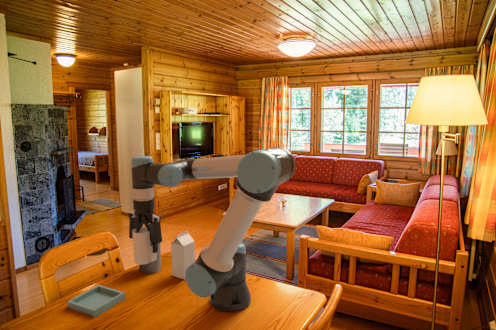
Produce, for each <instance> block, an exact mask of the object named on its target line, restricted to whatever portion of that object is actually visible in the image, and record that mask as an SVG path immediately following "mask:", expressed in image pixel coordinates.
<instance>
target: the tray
mask: <svg viewBox="0 0 496 330" xmlns="http://www.w3.org/2000/svg"><path fill="white" fill-rule="evenodd" d="M125 299H126V293H125V292H124V291H121V290H118V289H115V288H112V287H111V288H110V287H107V286H104V285H101V284H98V285H96V286H94V287H92V288H90V289H88V290H86V291H85V292H83V293H81V294H79V295H77V296H74V297H73V298H71V299H69V300H67V301H66V304H67V309H70V310H73V311H76V312H79V313H81V314H84V315H86V316H90V317H92V318H96V317H98V316H99V315H100V314H103V313H104V312H106V311H107V310H109V309H111V308H112V307H114V306H115V305H117V304H119V303H120V302H122V301H124V300H125Z"/></svg>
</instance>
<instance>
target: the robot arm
mask: <svg viewBox="0 0 496 330" xmlns="http://www.w3.org/2000/svg"><path fill="white" fill-rule="evenodd" d="M130 165H131V166H130V169H131V183H132V184H131V185H132V199H133V200H132V207H133V208H132V209H133V211H131V212H129V213H128V215H127V216H128V218H129V223H128V224H129V225H128V226H129V231H128V232H129V235H128V237H129V239H132V240H133V235H132V231H133V230H134V229H136V233H138V232H139V231H140V229H141V227H146V228H147V230H148V231H150V241H151V244H150V262H153V261H155V260H157V252H158V243H160V244H161V243H162V242H163V237H162V225H161V222H162V221H161V220H162V217H161V215H156V214H155V212H154V210H155V202H156V201H155V200H156V199H155V198H154V197H155V185H156V186H162V187H163V186H164V187H168V188H169V187H172V188H173V187H177V186H179V185H180V184H181V182H183V181H189V180H190V181H191V180H200V179H201V180H204V179H205V180H206V179H224V178H225V179H227V178H237V179H236V182H235V186H236V189H237V191H236V192H235V195H234V196H233V198H232V200H231V203H230V204H229V206H228V208H227V210H226V212H225V214H224V215H223V218H222V220H221V222H220V224H219V226H218V228H217V229H216V232H215V233H214V236H213V237H212V239H211V241H210V243H209V245H206V246H204V247H203V248H202V249H201V250H200V253H199V254H198V257H197V258H196V259H195V262H194V263H192V264H191V265H190V266H189V267H188V268H187V269H186V272H185V282H186V284H187V287H188V288H189V289H190V291H191V292H192V293H193V294H194V295H195V296H197V297H199V298H203V299H204V298H208V297H209V298H210V299H209V300H210V305H211V307H212V308H214V309H215V310H216V311H219V312H225V313H234V312H235V313H236V312H239V311H243V310H245V309H246V308H248V307H249V306H250V304H251V300H252V299H251V298H252V297H251V292H250V290H249V286H248V283H247V251H246V250H247V249H246V245H245V244H244V243H243V240H244V238H245V236H246V235H247V232H248V231H249V229H250V227H251V225H252V224H253V221H254V220H255V218H256V216H257V214H258V212H259V211H260V209H261V208H262V205H263V204H265V203H269V202H271V200H272V198H273V196H274V194H275V193H276V191H277V189H278V187H279V186H280V185H282V184H284V183H286V182H288V181H289V180H290V179H291V178H292V177H293V175H294V173H295V171H296V159H295V156H294V155H293V154H292V152H290V151H289V150H288V149H287V148H285V147H283V146H282V147H281V146H272V147H267V148H260V149H255V150H253V151H251V152H248V153H247V154H240V155H228V156H215V157H204V158H203V157H202V158H187V159H183V160H179V161H172V162H166V163H158V162H157V163H156V162H154V158H153V157H152V156H150V155H139V156H138V155H137V156H134V157H132V159H131V164H130ZM154 240H155V241H154Z"/></svg>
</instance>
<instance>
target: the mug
mask: <svg viewBox="0 0 496 330" xmlns="http://www.w3.org/2000/svg"><path fill="white" fill-rule="evenodd" d="M132 235H133V239H132V247H133V258H134V264H136V265H138V266H139V265H143V264H148V263H150V244H151V241H150V231H148V230H147V228H146V227H145V226H143V227H141V229H140V231H139V232H138V233H136V229H134V230H133V231H132Z"/></svg>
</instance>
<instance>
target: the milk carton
mask: <svg viewBox="0 0 496 330" xmlns="http://www.w3.org/2000/svg"><path fill="white" fill-rule="evenodd" d="M170 245H171V246H170V250H171V251H170V253H171V274H172V275H171V276H173V277H176V278H178V279H182V280H185V272H186V269H187V268H188V267H189V266H190V265H191V264H192V263H194V262H195V261H196V256H195V255H196V253H195V252H196V251H195V250H196V249H195V247H196V246H195V240H194V238H193V237H192V236H191V234H190V232H189V230H187V231H183V232H181V233H179V234H177V235H176V237H175V239H174V240H173V241H172V242H171V243H170ZM185 281H186V280H185Z"/></svg>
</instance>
